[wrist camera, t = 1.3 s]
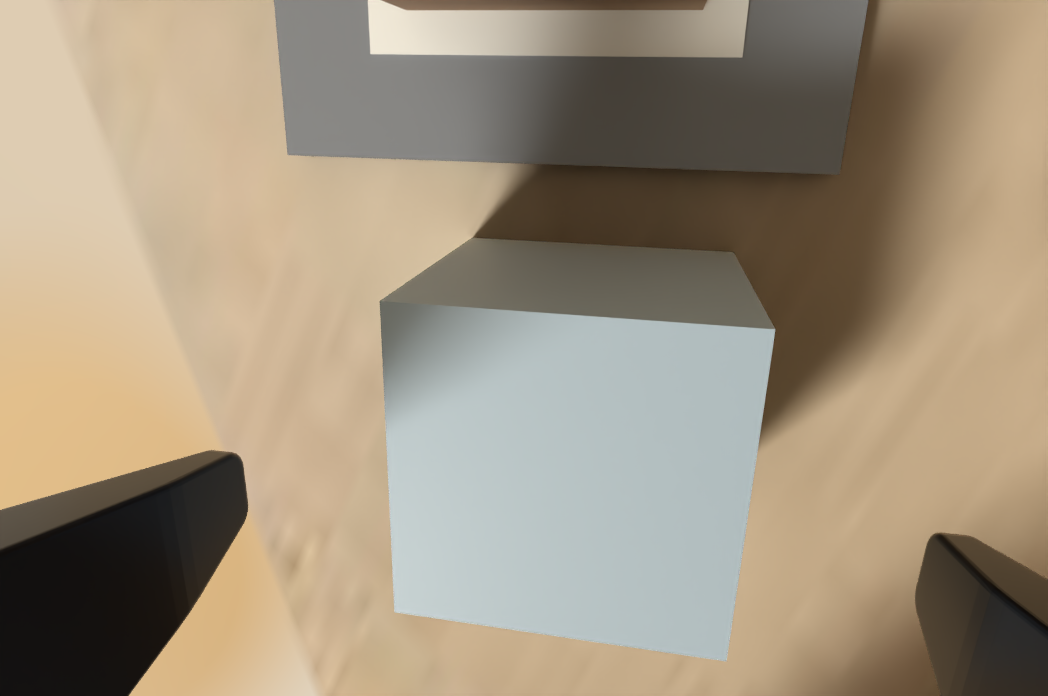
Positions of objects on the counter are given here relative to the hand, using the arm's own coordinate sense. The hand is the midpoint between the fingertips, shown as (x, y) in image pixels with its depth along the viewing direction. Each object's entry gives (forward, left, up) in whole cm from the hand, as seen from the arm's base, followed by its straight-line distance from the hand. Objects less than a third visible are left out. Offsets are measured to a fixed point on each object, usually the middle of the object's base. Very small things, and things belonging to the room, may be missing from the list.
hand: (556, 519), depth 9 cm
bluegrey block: (0, 0, -6) cm, 6 cm away
